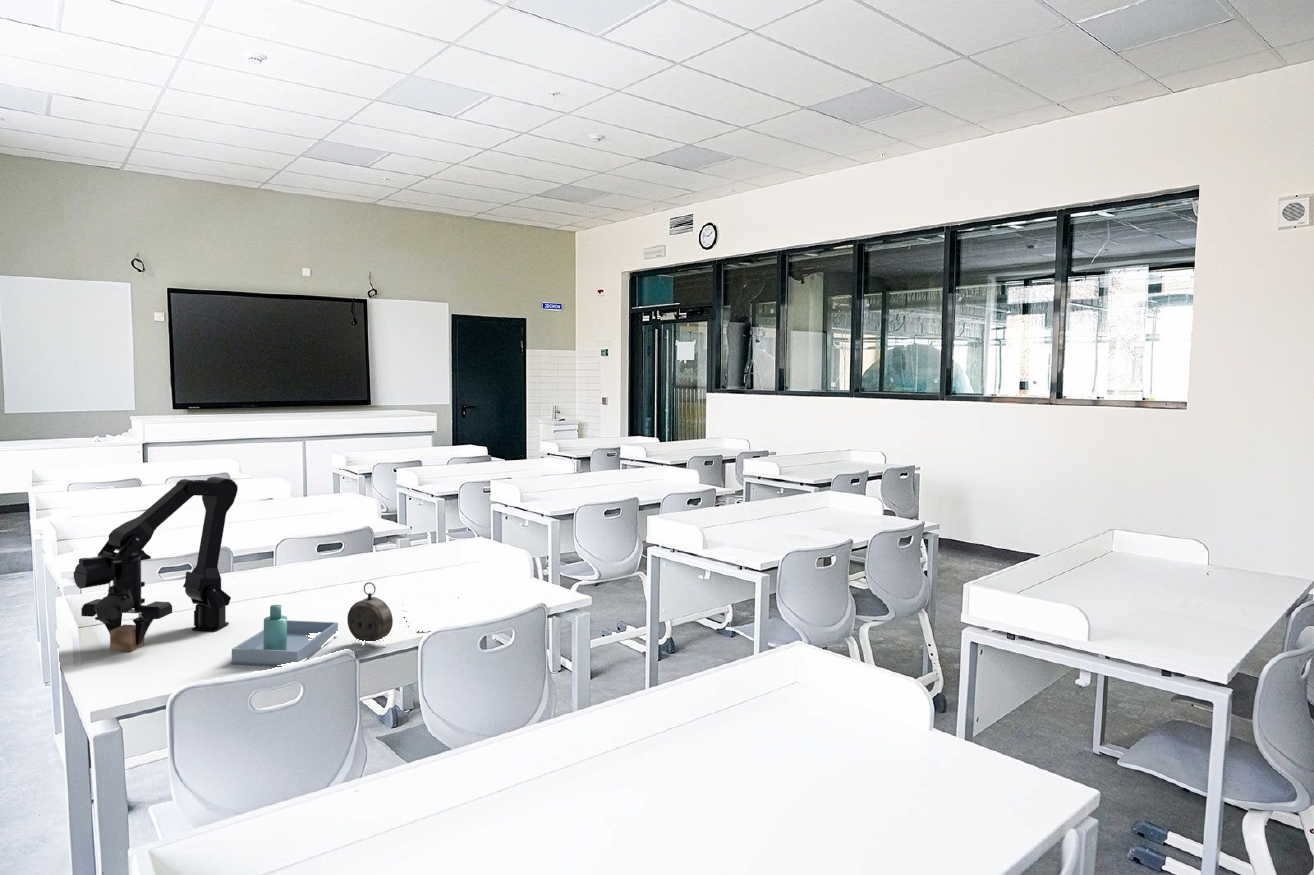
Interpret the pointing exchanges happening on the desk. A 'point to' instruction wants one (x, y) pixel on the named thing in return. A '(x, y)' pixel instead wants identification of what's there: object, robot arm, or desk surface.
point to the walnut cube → (124, 639)
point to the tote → (296, 644)
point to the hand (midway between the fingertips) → (127, 644)
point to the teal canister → (275, 630)
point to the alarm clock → (370, 618)
